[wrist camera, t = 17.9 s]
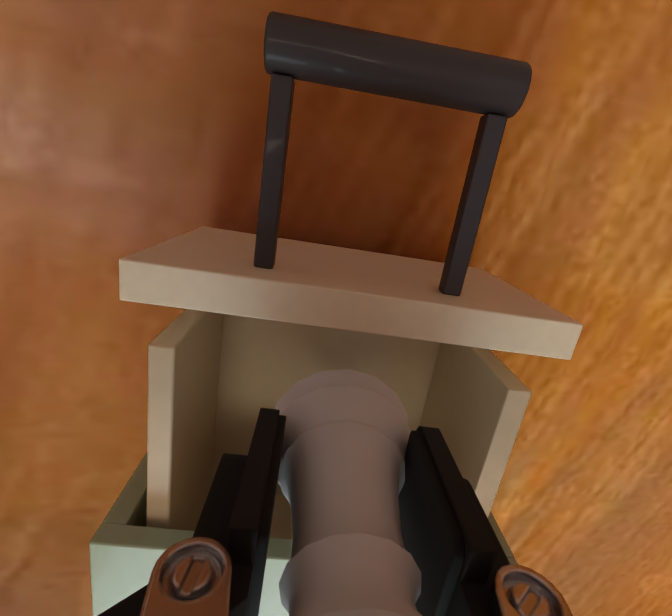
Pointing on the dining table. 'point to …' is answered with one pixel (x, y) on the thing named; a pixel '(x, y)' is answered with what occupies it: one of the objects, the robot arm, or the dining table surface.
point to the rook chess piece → (345, 498)
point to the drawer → (339, 291)
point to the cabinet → (150, 542)
